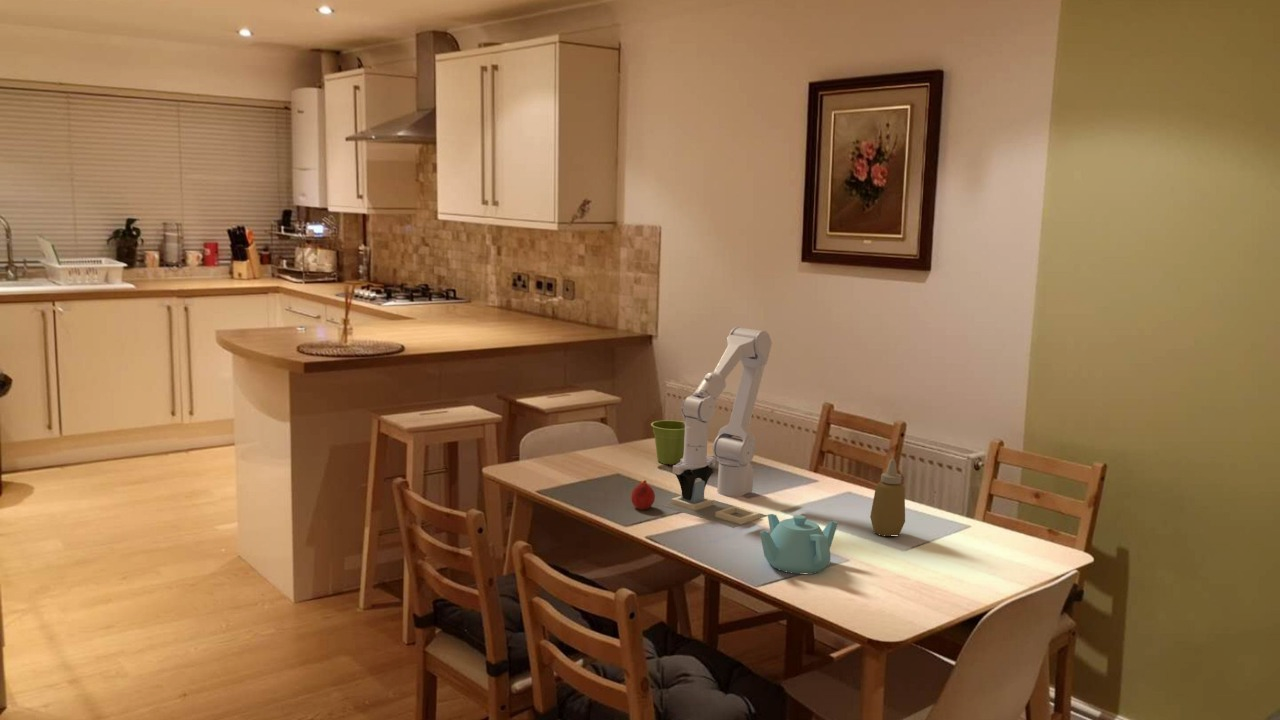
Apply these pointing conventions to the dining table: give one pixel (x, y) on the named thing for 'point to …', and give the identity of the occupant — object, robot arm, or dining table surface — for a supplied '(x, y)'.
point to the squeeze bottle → (889, 503)
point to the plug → (697, 492)
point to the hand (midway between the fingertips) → (692, 497)
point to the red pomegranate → (642, 496)
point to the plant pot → (669, 440)
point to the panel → (715, 511)
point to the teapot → (797, 544)
